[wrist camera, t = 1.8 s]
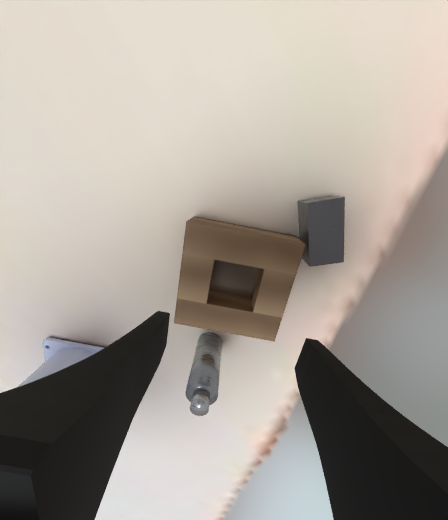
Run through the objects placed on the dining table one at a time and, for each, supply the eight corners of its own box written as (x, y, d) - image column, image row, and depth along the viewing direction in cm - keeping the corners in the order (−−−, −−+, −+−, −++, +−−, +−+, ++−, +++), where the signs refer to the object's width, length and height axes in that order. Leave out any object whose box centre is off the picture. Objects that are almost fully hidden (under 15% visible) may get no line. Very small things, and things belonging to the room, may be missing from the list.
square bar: (329, 252, 19) (343, 262, 16) (300, 256, 19) (309, 266, 17) (328, 195, 17) (344, 196, 15) (297, 201, 18) (307, 202, 15)
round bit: (219, 354, 23) (213, 423, 16) (196, 350, 23) (180, 417, 16) (223, 335, 22) (219, 400, 15) (199, 330, 22) (184, 393, 15)
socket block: (269, 321, 21) (274, 341, 18) (182, 305, 21) (174, 323, 18) (294, 235, 18) (305, 244, 16) (193, 216, 18) (186, 221, 15)
